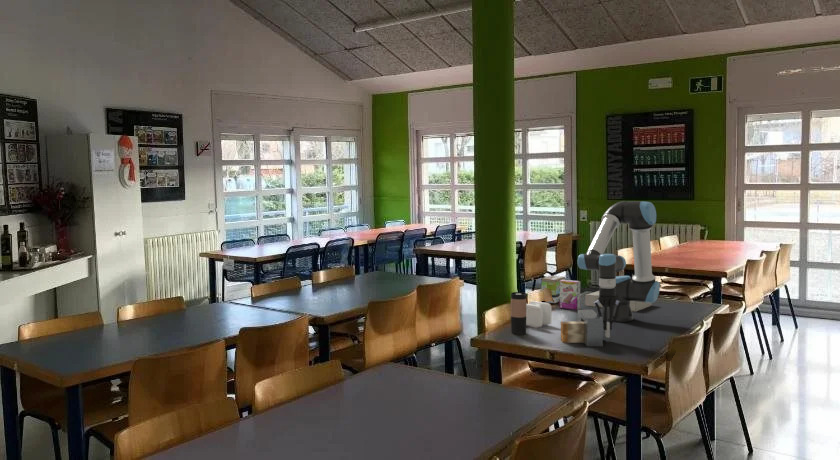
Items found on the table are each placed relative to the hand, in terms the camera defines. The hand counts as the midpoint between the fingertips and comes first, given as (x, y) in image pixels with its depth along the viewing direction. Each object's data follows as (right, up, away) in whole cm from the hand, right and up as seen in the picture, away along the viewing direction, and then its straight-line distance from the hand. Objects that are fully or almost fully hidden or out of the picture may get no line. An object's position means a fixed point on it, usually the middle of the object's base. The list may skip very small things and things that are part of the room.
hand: (607, 336), depth 326 cm
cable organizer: (-28, 0, +35) cm, 45 cm away
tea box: (-6, +6, +103) cm, 103 cm away
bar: (-12, -2, 0) cm, 13 cm away
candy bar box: (-1, +4, +78) cm, 78 cm away
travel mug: (-39, -1, +18) cm, 43 cm away
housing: (-8, -2, 0) cm, 9 cm away
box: (+30, +5, +85) cm, 91 cm away
